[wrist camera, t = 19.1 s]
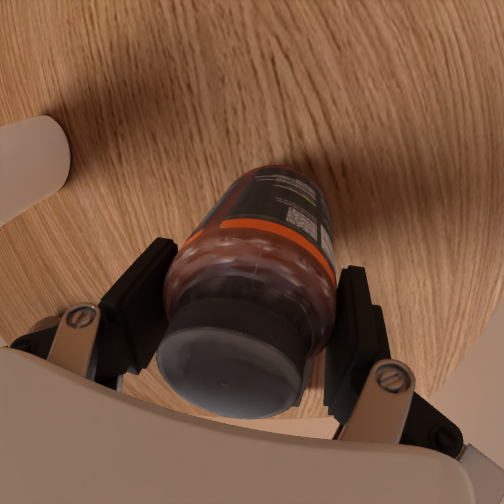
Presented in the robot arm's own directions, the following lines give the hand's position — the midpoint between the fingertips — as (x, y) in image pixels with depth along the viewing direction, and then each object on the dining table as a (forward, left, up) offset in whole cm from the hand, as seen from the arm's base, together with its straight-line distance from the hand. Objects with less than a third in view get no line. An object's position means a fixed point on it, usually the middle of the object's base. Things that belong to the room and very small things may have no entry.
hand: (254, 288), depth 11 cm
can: (+18, -3, -8) cm, 20 cm away
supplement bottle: (0, 0, -7) cm, 7 cm away
